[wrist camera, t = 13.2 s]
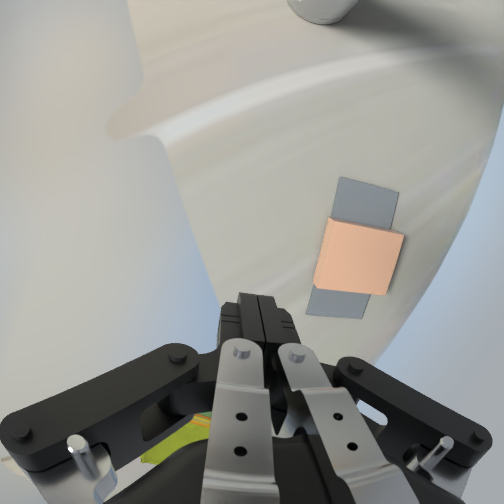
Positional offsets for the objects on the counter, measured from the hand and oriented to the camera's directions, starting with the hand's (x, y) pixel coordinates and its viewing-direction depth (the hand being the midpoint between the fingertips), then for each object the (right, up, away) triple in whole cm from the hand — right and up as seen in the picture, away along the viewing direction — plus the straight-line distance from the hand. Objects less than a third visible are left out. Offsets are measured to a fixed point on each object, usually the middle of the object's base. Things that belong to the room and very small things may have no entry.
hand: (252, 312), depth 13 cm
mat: (+16, +2, +31) cm, 35 cm away
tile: (+10, +3, +29) cm, 30 cm away
